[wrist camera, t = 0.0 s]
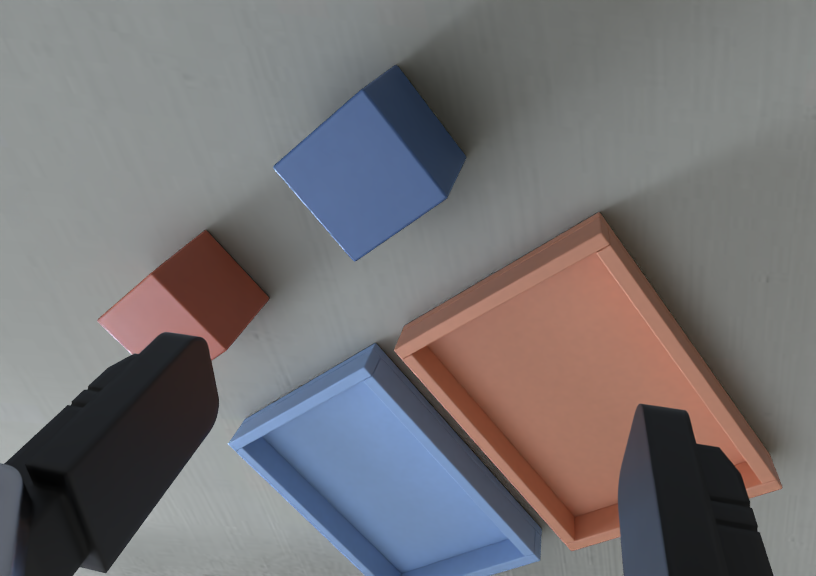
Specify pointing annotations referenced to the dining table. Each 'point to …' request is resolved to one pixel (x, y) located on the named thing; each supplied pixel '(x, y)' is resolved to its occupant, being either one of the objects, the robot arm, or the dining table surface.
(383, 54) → the dining table surface
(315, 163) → the blue block
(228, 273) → the terracotta block
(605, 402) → the clay tray
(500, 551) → the blue tray
